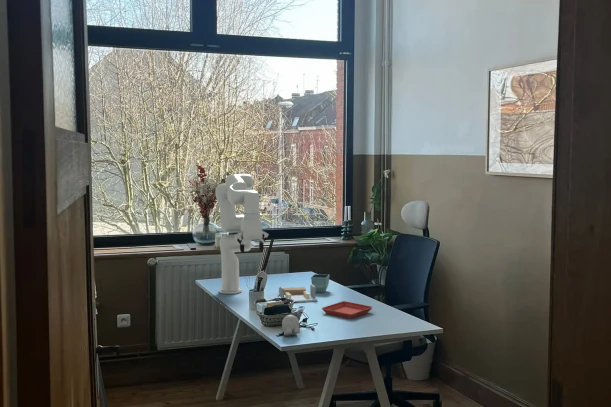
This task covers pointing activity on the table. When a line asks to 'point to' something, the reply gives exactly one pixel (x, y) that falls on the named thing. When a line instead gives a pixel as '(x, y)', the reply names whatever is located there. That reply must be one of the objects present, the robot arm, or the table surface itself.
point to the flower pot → (320, 282)
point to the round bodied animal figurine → (290, 325)
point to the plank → (294, 290)
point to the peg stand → (300, 298)
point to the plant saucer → (346, 309)
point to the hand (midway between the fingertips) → (251, 251)
